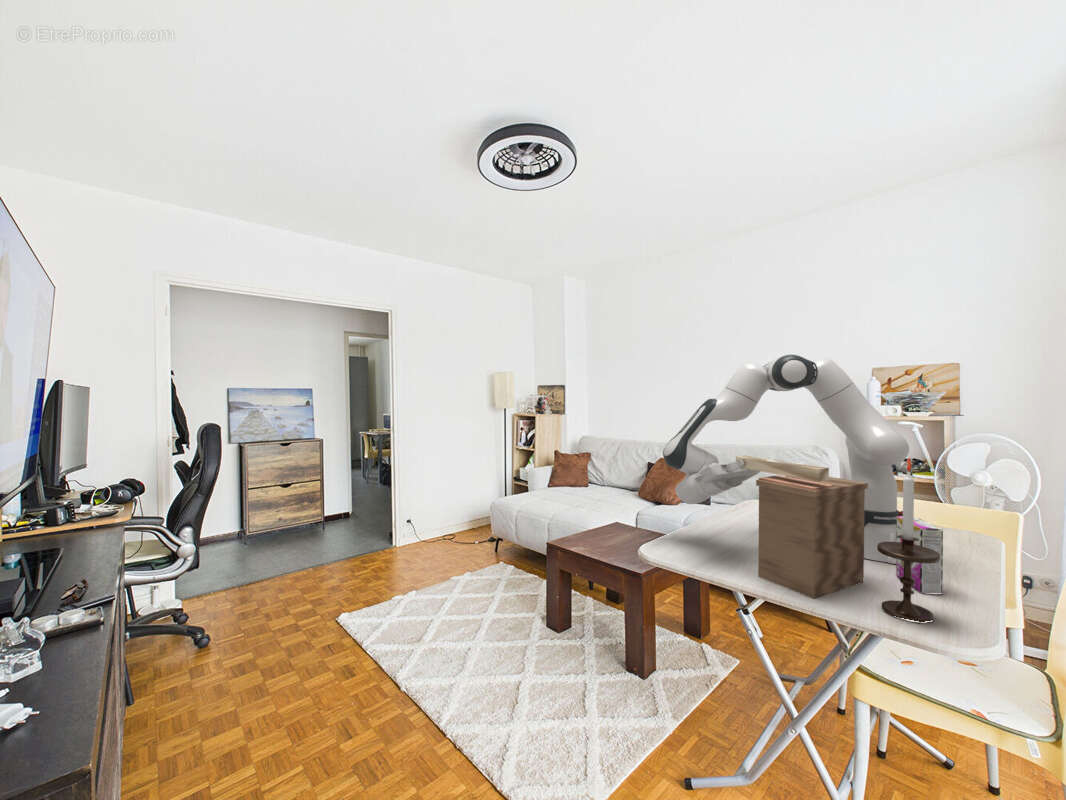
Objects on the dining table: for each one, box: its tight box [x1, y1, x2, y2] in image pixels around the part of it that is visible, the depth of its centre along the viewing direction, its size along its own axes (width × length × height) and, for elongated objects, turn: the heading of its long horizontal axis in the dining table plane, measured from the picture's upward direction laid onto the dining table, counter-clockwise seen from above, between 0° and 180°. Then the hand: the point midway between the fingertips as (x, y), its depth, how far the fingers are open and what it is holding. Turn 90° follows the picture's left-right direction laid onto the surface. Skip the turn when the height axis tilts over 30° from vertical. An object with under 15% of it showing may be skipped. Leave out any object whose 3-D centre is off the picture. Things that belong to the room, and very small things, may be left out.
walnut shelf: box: [755, 474, 868, 600], centre depth 122 cm, size 22×16×26 cm
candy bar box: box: [895, 516, 944, 594], centre depth 118 cm, size 11×5×16 cm, turn 168°
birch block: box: [735, 455, 830, 481], centre depth 124 cm, size 4×24×3 cm, turn 27°
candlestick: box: [878, 457, 940, 622], centre depth 103 cm, size 11×11×35 cm
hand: (750, 461), depth 132 cm, fingers closed on birch block, 4 cm apart
